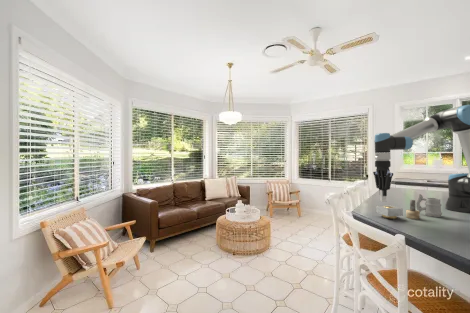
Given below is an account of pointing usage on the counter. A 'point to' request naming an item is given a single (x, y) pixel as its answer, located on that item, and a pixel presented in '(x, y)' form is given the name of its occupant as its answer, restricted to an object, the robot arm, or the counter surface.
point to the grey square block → (389, 210)
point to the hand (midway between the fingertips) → (383, 201)
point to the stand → (412, 211)
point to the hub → (389, 216)
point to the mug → (430, 206)
